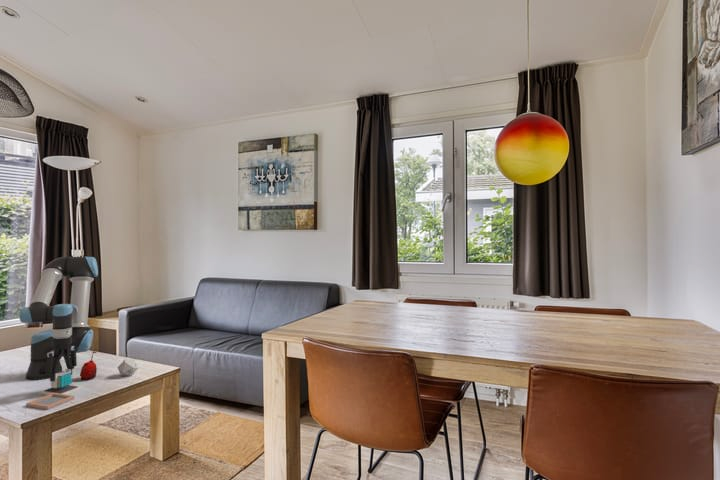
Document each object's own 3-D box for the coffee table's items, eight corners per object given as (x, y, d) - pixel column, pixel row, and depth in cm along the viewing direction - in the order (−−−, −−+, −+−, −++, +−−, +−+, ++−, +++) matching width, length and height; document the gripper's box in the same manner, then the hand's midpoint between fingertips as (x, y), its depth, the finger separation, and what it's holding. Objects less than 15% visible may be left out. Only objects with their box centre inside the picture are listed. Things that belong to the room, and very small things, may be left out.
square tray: (26, 406, 170) (26, 403, 170) (54, 395, 182) (54, 392, 182) (47, 409, 167) (47, 406, 167) (74, 398, 179) (74, 395, 179)
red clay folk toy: (86, 375, 208) (86, 347, 208) (99, 375, 209) (100, 347, 209) (77, 381, 200) (77, 352, 200) (91, 381, 201) (92, 351, 201)
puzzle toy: (60, 388, 184) (60, 376, 184) (50, 387, 185) (50, 375, 185) (71, 383, 190) (71, 372, 190) (61, 382, 191) (61, 371, 191)
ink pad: (40, 393, 184) (40, 390, 184) (61, 385, 194) (61, 383, 194) (60, 396, 181) (60, 393, 181) (80, 388, 191) (80, 386, 191)
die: (123, 380, 204) (136, 363, 207) (110, 370, 206) (124, 354, 209) (131, 380, 212) (144, 364, 215) (119, 371, 214) (132, 355, 217)
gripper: (48, 342, 177) (47, 393, 177) (86, 332, 196) (85, 379, 195) (35, 341, 179) (34, 391, 179) (74, 331, 197) (73, 377, 197)
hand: (61, 384), depth 187 cm, fingers closed on puzzle toy, 6 cm apart
